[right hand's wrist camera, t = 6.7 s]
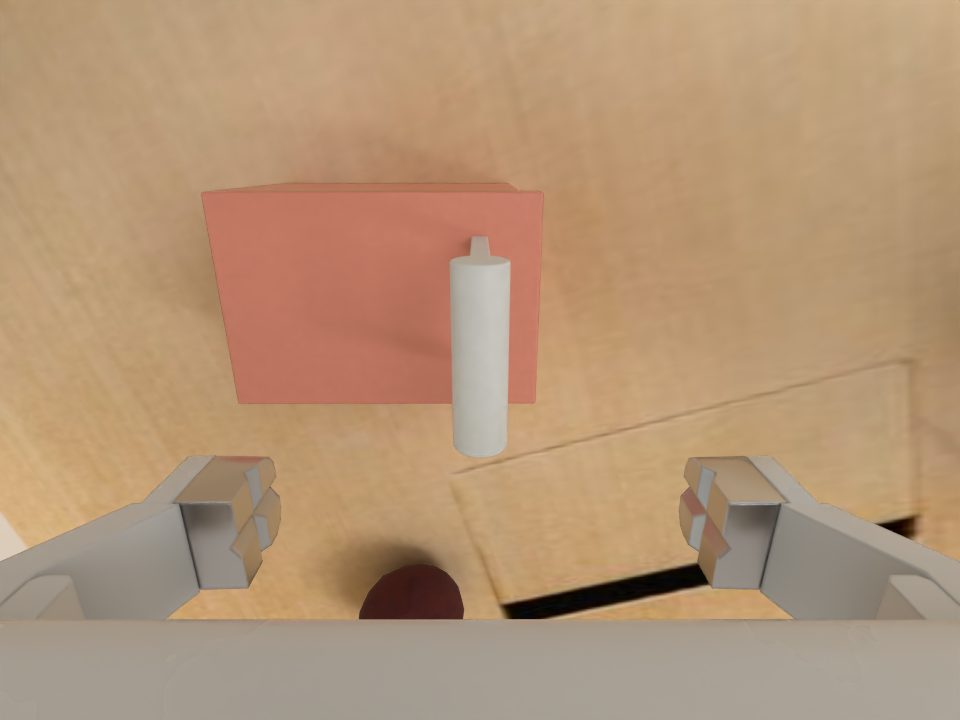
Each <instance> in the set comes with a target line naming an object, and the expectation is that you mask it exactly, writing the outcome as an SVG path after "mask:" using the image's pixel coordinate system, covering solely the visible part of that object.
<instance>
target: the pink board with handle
mask: <svg viewBox="0 0 960 720" xmlns="http://www.w3.org/2000/svg"><path fill="white" fill-rule="evenodd" d="M201 195H202V201H203V207H204V212H205V218H206V224H207V229H208V235H209V240H210V246H211V252H212V257H213V263H214V268H215V274H216V280H217V285H218V291H219V296H220V302H221V308H222V313H223V319H224V324H225V330H226V336H227V341H228V347H229V352H230V358H231V364H232V369H233V375H234V380H235V386H236V392H237V397H238V403H239V404H438V403H453V444H454V447H455V449H456V450H457V451H458V452H459V453H461V454H463V455H466V456H469V457H476V458H484V457H491V456H495V455H497V454H499V453H501V452H502V451H503V450H504V449H505V448H506V446H507V418H508V403H535V396H536V372H537V347H538V322H539V297H540V272H541V247H542V222H543V198H544V194H543V192H541V191H209V192H202V193H201Z"/></svg>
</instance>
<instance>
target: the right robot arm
mask: <svg viewBox="0 0 960 720" xmlns="http://www.w3.org/2000/svg"><path fill="white" fill-rule="evenodd" d="M275 478H276V473H275V468H274V463H273V461H272V460H271V459H270V458H269V457H249V456H191V457H187V458H186V459H185V460H184V461H183V462H182V463H181V464H180V465H179V466H178V467H177V468H176V469H175V470H174V471H173V472H172V473H171V474H170V475H169V476H168V477H167V478H166V479H165V480H164V481H163V482H162V483H161V484H160V485H159V486H158V487H157V488H156V489H155V490H154V491H153V492H152V493H151V494H150V495H149V496H148V497H147V498H146V499H145V500H144V501H143V502H142V503H132V504H130V505H127V506H125V507H123V508H121V509H118V510H116V511H114V512H112V513H109V514H107V515H105V516H102V517H100V518H98V519H96V520H93V521H91V522H89V523H87V524H84V525H82V526H80V527H77V528H75V529H73V530H71V531H68V532H66V533H64V534H62V535H59V536H57V537H55V538H52V539H50V540H48V541H46V542H43V543H41V544H39V545H36V546H34V547H32V548H30V549H27V550H25V551H23V552H21V553H18V554H16V555H14V556H12V557H9V558H7V559H5V560H2V561H0V720H960V561H957V560H955V559H953V558H950V557H948V556H946V555H944V554H941V553H939V552H937V551H935V550H932V549H930V548H928V547H926V546H923V545H921V544H919V543H916V542H914V541H912V540H910V539H907V538H905V537H903V536H901V535H898V534H896V533H894V532H891V531H889V530H887V529H885V528H882V527H880V526H878V525H876V524H873V523H871V522H869V521H867V520H864V519H862V518H860V517H857V516H855V515H853V514H851V513H848V512H846V511H844V510H842V509H839V508H837V507H835V506H832V505H830V504H828V503H818V502H817V501H816V500H815V499H814V498H813V497H812V496H811V495H810V494H809V493H808V492H807V491H806V490H805V489H804V488H803V487H802V486H801V485H800V484H799V483H798V482H797V481H796V480H795V479H794V478H793V477H792V476H791V475H790V474H789V473H788V472H787V471H786V470H785V469H784V468H783V467H782V466H781V465H780V464H779V463H778V462H777V461H776V460H775V459H774V458H773V457H770V456H767V455H762V456H731V457H694V458H689V459H688V462H687V464H686V467H685V473H684V478H685V479H686V481H687V482H688V484H689V486H690V487H689V488H688V489H687V490H686V491H685V492H684V493H683V494H682V495H681V498H680V506H679V518H680V526H681V529H682V533H683V536H684V538H685V540H686V541H687V543H688V545H689V546H691V547H692V548H694V549H695V550H697V551H698V552H699V555H698V561H697V562H698V564H699V565H700V567H701V569H702V571H703V573H704V574H705V576H706V578H707V580H708V582H709V583H710V585H711V587H712V588H717V589H754V590H760V592H761V593H762V594H763V595H765V596H766V597H767V598H769V599H770V600H771V601H772V602H774V603H775V604H776V605H778V606H779V607H780V608H781V609H783V610H784V611H785V612H786V613H788V614H789V615H790V616H792V617H793V618H794V619H623V620H341V619H166V618H167V617H169V616H170V615H171V614H172V613H174V612H175V611H176V610H178V609H179V608H180V607H181V606H183V605H184V604H185V603H187V602H188V601H189V600H190V599H192V598H193V597H194V596H195V595H197V594H198V593H199V592H200V590H206V589H241V588H248V587H249V585H250V584H251V582H252V580H253V578H254V576H255V575H256V573H257V571H258V569H259V567H260V565H261V564H262V562H263V561H262V555H261V552H262V551H263V550H265V549H266V548H268V547H269V546H271V545H272V543H273V541H274V539H275V537H276V536H277V533H278V529H279V525H280V520H281V504H280V498H279V495H278V494H277V493H276V492H275V491H274V490H273V489H272V488H271V487H270V486H271V484H272V482H273V481H274V479H275Z"/></svg>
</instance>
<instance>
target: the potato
mask: <svg viewBox="0 0 960 720" xmlns="http://www.w3.org/2000/svg"><path fill="white" fill-rule="evenodd" d="M463 614H464V607H463V603H462V599H461V595H460V591H459V588H458V586H457V584H456V583H455V581H454V580H453V579H452V578H451V577H450V576H449V575H448V574H447V573H446V572H445V571H443V570H440V569H438V568H436V567H432V566H427V565H416V566H405V567H403V568H401V569H398V570H396V571H394V572H391V573H389V574H386V575H384V576H383V577H382V578H381V579H380V580H379V581H378V582H377V583H376V584H375V585H374V587H373V588H372V589H371V590H370V592H369V593H368V595H367V597H366V599H365V601H364V603H363V606H362V608H361V611H360V613H359V620H463Z"/></svg>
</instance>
